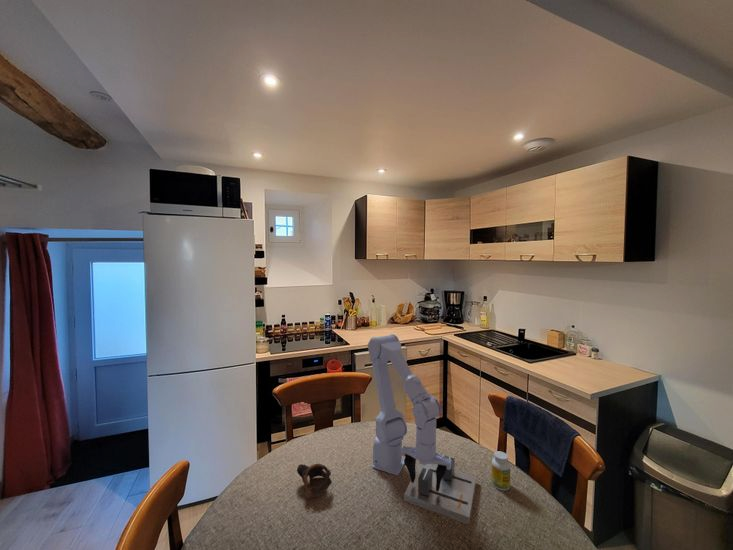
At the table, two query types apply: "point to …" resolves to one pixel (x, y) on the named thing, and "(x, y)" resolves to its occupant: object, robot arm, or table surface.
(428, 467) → the fader panel
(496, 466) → the supplement bottle
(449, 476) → the far fader
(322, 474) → the pottery mug
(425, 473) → the block
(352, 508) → the table surface
